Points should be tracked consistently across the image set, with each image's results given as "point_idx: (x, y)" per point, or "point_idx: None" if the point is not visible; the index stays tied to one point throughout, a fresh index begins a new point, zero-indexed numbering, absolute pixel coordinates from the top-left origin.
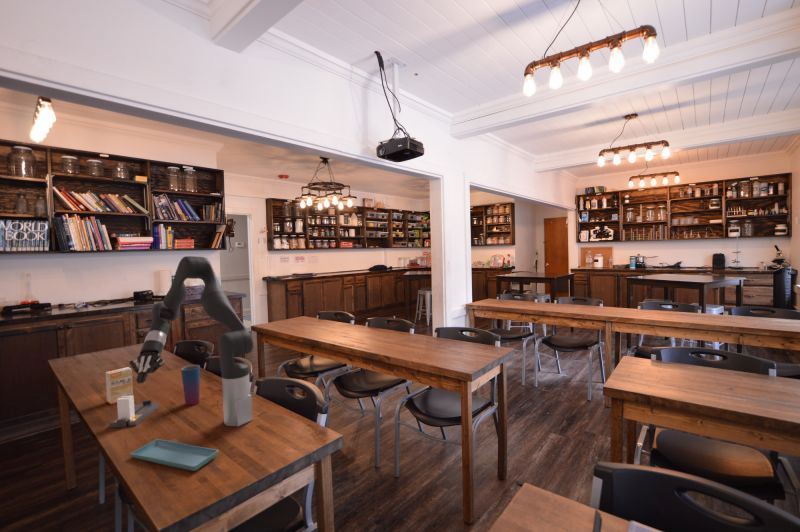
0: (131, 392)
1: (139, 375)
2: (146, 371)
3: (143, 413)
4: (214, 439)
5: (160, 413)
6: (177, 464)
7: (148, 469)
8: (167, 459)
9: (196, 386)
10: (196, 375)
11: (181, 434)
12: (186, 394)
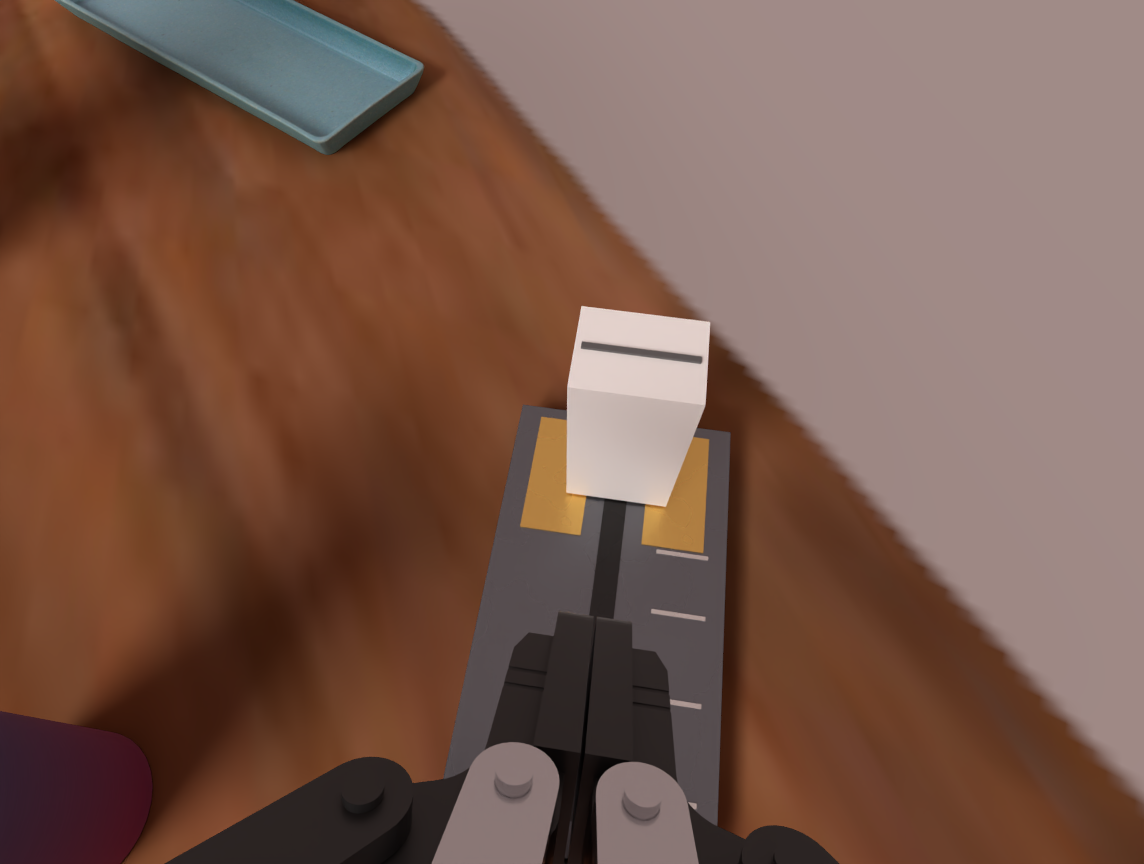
0: None
1: (618, 699)
2: (473, 784)
3: (514, 549)
4: (42, 128)
5: (388, 614)
6: None
7: (332, 10)
8: (264, 39)
9: None
10: None
11: (206, 219)
12: (43, 727)
